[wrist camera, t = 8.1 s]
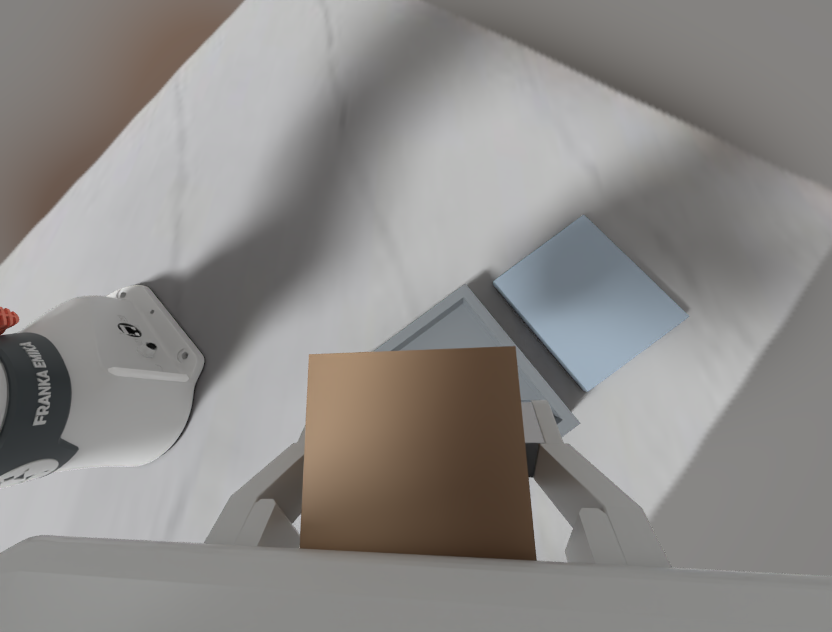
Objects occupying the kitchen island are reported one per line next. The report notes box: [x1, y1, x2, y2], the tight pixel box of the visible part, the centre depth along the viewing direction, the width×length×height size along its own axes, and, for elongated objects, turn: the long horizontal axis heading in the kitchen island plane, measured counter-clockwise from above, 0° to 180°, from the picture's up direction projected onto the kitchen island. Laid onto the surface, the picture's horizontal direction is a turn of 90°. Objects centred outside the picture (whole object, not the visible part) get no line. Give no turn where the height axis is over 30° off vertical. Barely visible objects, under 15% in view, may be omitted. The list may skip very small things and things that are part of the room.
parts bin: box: [373, 284, 580, 437], centre depth 29 cm, size 16×16×4 cm
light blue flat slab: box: [493, 215, 689, 391], centre depth 31 cm, size 14×12×1 cm
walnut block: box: [300, 346, 537, 561], centre depth 11 cm, size 5×5×10 cm
